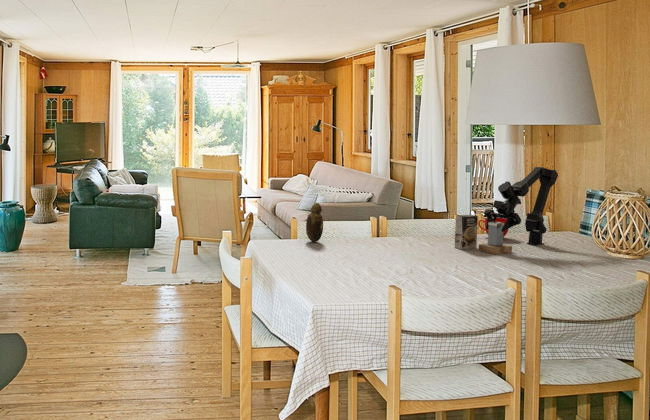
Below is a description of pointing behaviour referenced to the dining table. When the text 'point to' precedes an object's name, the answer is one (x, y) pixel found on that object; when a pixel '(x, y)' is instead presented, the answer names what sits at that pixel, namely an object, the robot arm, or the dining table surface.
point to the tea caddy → (495, 234)
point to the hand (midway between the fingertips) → (494, 230)
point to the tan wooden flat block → (495, 249)
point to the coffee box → (466, 231)
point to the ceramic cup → (495, 221)
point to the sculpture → (315, 223)
